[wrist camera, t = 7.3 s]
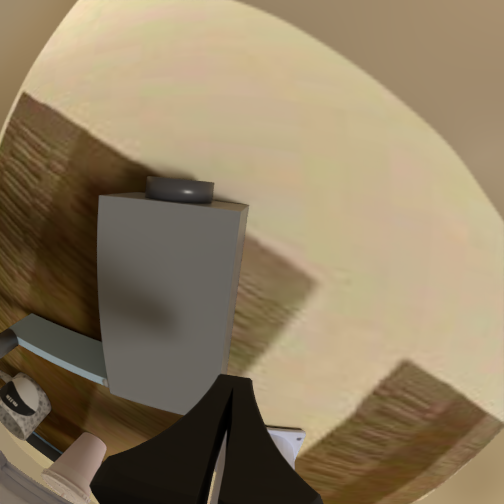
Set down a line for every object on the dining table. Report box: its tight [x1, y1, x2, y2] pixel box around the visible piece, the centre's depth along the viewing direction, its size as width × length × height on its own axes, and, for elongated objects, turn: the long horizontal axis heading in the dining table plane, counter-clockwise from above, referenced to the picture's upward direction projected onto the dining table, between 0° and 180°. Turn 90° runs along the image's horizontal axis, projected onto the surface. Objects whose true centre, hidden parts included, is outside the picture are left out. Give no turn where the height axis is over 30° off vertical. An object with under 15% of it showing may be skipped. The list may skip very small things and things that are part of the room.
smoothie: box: [41, 432, 107, 504], centre depth 19 cm, size 6×6×14 cm
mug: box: [0, 370, 51, 441], centre depth 22 cm, size 10×7×7 cm
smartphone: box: [26, 431, 63, 462], centre depth 29 cm, size 7×1×15 cm
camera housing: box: [97, 176, 249, 415], centre depth 18 cm, size 15×8×5 cm, turn 172°
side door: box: [0, 313, 109, 387], centre depth 18 cm, size 12×2×8 cm, turn 80°
